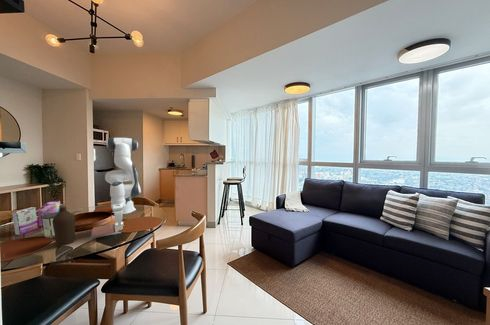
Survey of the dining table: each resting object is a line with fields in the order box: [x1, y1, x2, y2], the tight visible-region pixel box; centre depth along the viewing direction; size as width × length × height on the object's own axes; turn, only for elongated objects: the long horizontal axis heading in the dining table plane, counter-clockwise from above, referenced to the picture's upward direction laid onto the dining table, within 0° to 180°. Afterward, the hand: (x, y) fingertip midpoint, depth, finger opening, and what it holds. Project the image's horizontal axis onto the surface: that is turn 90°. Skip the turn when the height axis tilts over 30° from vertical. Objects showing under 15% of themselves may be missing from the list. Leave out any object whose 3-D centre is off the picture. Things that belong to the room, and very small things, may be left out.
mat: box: [89, 230, 122, 240], centre depth 147 cm, size 12×28×1 cm, turn 120°
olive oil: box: [52, 204, 77, 247], centre depth 130 cm, size 11×11×25 cm
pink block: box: [91, 223, 115, 237], centre depth 144 cm, size 7×12×4 cm, turn 120°
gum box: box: [37, 200, 61, 227], centre depth 165 cm, size 24×8×14 cm, turn 28°
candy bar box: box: [11, 206, 40, 236], centre depth 146 cm, size 11×5×16 cm, turn 168°
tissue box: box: [42, 212, 59, 237], centre depth 142 cm, size 10×10×14 cm
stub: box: [114, 221, 124, 232], centre depth 148 cm, size 5×5×5 cm
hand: (119, 223), depth 148 cm, fingers open, 8 cm apart
